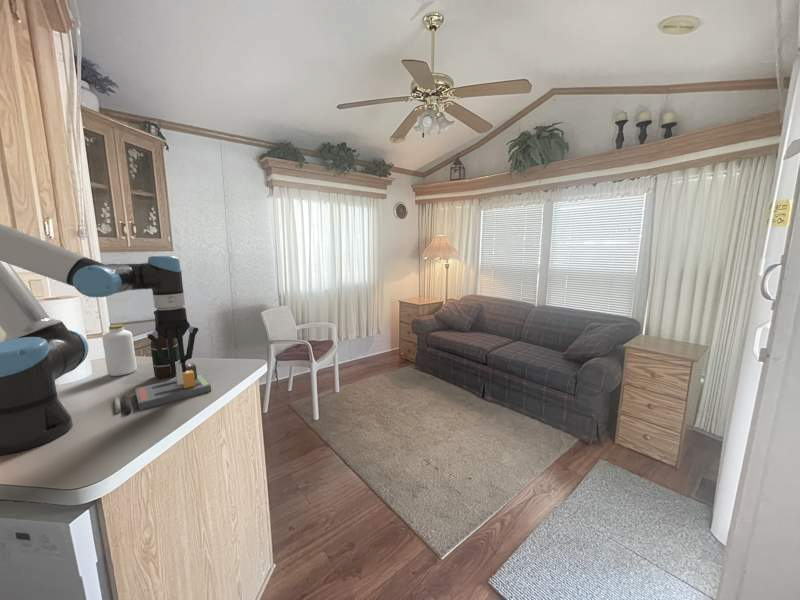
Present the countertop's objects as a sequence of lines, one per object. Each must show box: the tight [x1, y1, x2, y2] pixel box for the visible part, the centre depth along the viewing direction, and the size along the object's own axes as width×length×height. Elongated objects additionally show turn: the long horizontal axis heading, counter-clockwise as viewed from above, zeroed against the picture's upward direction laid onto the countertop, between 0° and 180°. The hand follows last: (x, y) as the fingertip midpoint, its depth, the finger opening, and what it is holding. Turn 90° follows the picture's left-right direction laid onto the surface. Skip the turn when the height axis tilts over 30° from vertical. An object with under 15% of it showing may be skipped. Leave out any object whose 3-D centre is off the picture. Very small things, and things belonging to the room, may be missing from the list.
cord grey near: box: [113, 396, 122, 414], centre depth 94 cm, size 11×1×1 cm, turn 42°
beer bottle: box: [150, 310, 180, 380], centre depth 117 cm, size 8×8×24 cm
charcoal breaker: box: [186, 362, 198, 379], centre depth 109 cm, size 3×3×4 cm
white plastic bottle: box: [102, 324, 138, 377], centre depth 120 cm, size 8×8×18 cm
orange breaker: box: [182, 370, 196, 388], centre depth 102 cm, size 3×3×4 cm
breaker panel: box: [134, 373, 212, 411], centre depth 103 cm, size 18×14×2 cm
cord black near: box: [122, 395, 132, 415], centre depth 94 cm, size 13×1×1 cm, turn 42°
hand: (180, 382), depth 101 cm, fingers closed
